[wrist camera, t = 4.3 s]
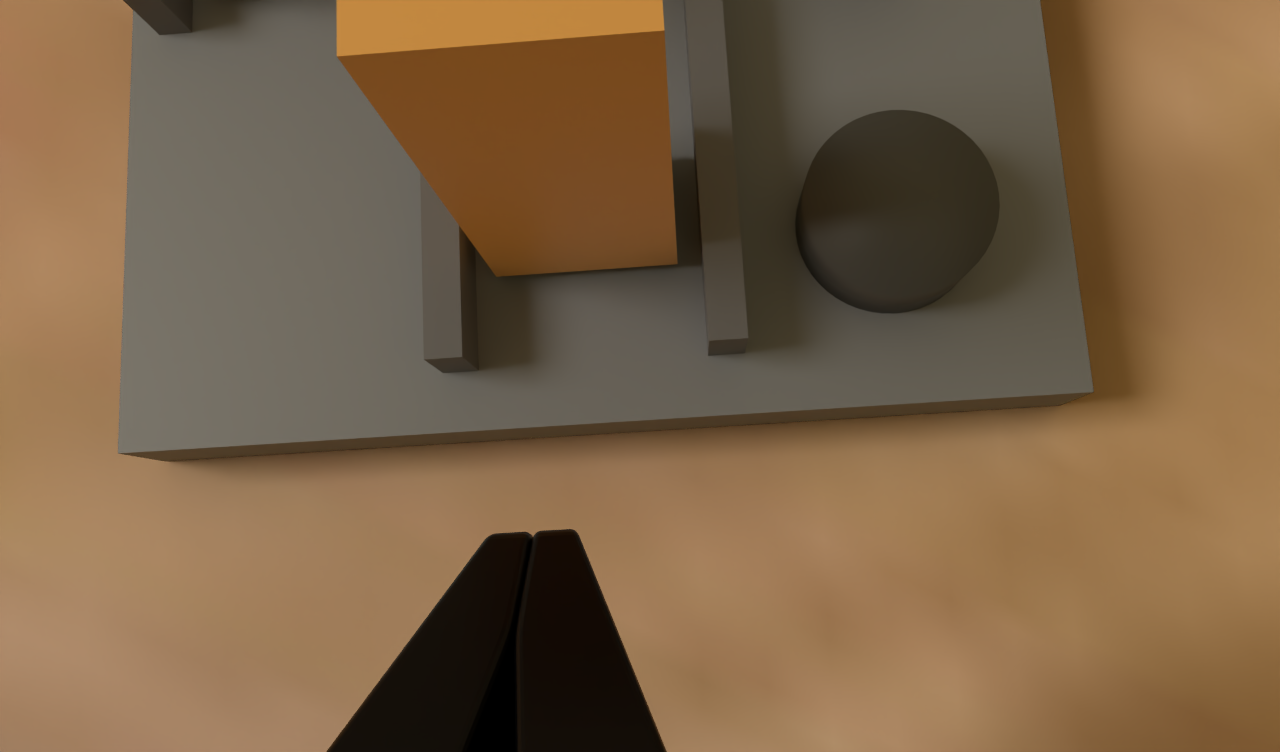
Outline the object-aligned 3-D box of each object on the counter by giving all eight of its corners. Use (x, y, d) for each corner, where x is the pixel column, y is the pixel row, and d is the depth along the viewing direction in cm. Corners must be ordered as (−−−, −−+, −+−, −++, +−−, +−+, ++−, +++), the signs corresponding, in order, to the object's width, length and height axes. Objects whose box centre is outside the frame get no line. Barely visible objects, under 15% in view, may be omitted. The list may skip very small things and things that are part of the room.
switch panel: (1059, 405, 17) (1166, 363, 14) (164, 461, 18) (17, 436, 14) (980, -202, 20) (1053, -392, 16) (180, -132, 20) (56, -296, 16)
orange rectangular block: (677, 264, 16) (664, 30, 9) (496, 277, 17) (337, 56, 9) (669, 149, 17) (651, -168, 9) (492, 162, 17) (336, -139, 9)
